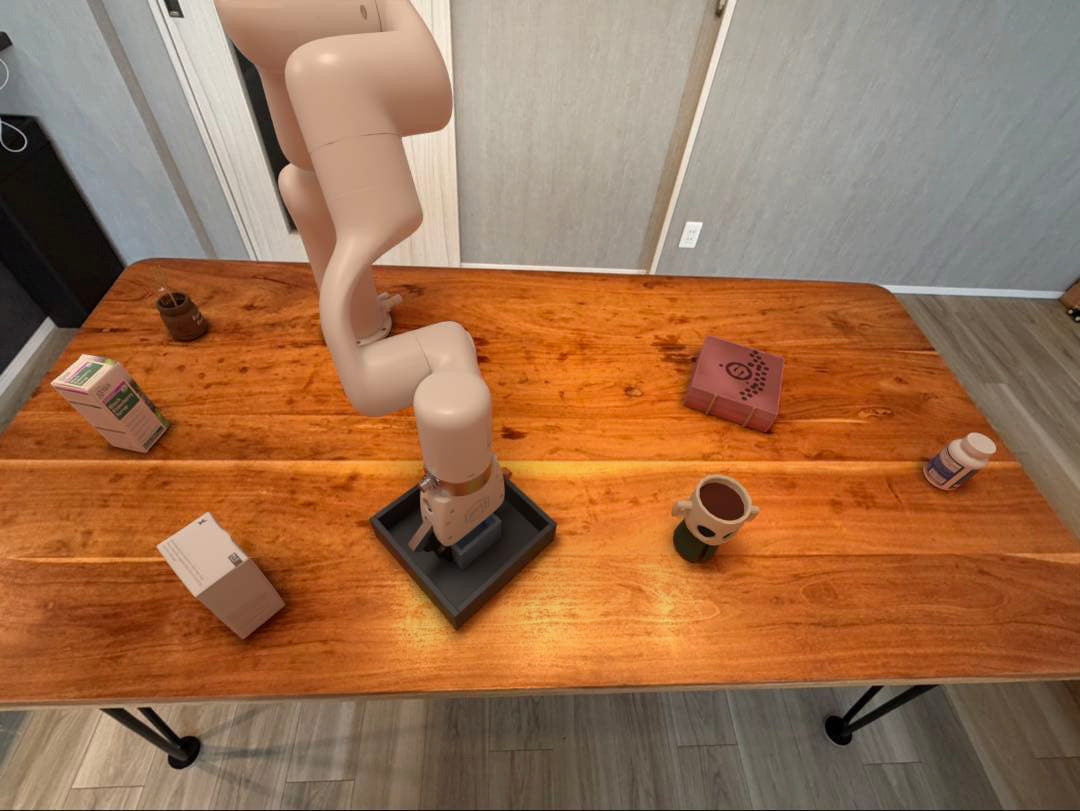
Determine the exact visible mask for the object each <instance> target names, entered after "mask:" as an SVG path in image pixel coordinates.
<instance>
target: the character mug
mask: <svg viewBox="0 0 1080 811" xmlns="http://www.w3.org/2000/svg"><path fill="white" fill-rule="evenodd" d="M760 510H761V508H760V507H759V506H758V505H753V504H752V497H751V496H750V494H749V492H748V490H747V489H746V488H745V487H744V486H743V485H742V484H741V483H740V482H739V481H738V480H736V479H735V478H732V477H731V476H727V475H724V474H720V473H719V474H717V473H716V474H708V475H707V476H705V477H703V478H702V479H700V480H699V482H698V483H697V485H696V487H695V488H694V490H693V492H692V493H691V495H690V496H689V499H688V500H677V501H676V502H675V504H674V505H673V507H672V509H671V515H672V517H674V518H683V519H682V520H681V521H680V523H679V524H678V525H677V526H676V527H675V528H674V530H673V535H672V536H673V537H672V541H673V544H674V547H675V550H676V551H677V552H678V553H679V554H680V556H681V558H684V559H686V560H688V561H690V562H691V563H696V561H697V559H698V558H699V559H701V558H702V559H701V562H700V563H701V564H702V563H703V564H704V563H706V562H708V561H710V560H712V559H713V557H714V556H715V554H716V553H717V551H718V549H719V548H720V546H721V545H723V544H725V543H727V542H729V541H731V540H732V539H733V538H734V537H735V536H736V535H737V534H738V532H739V531H740V530H741V528H742V527H744V525H745V523H746V522H747V523H748V522H749V523H750V522H752V521H754V520H755V518H756V517H757V516H758V515H759V514H760Z"/></svg>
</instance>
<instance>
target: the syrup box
mask: <svg viewBox="0 0 1080 811" xmlns="http://www.w3.org/2000/svg"><path fill="white" fill-rule="evenodd" d="M50 385H51V387H52V388H53V389H54V390H55V391H56V392H57V393H59V395H61V397H63V399H64V400H65V401H67V402H68V403H69V405H70V406H72V407H73V409H75V410H76V411H77V412H78V413H79V415H81V416H82V418H84V419H85V420H86V421H87V422H88V423H89V424H90V425H91V426H92V427H93V428H94V429H95V430H96V431H97V432H98V433H99V434H100V435H101V436H102V437H103V438H104V439H105V440H106V441H107V442H108V443H109V444H110V445H111V446H112V447H115V448H120V449H123V450H128V451H133V452H138V453H142V454H148V453H149V451H150V449H151V448H152V447H153V446H154V445H155V444H156V443H157V441H158V440H159V439H160V438H161V437H162V436H163V434H165V432H166V431H167V430H168V429H169V428H170V427H171V424H170V422H169V421H168V420H167V419H166V417H165V416H164V415H163V414H162V413H161V411H160V410H159V409H158V408H157V406H156V405H155V404H154V403H153V402H152V400H151V399H150V397H148V395H147V394H146V393H145V391H144V390H143V389H142V387H141V386H140V385H139V384H138V383H137V382H136V381H135V379H134V378H133V376H132V375H131V374H130V373H129V372H128V370H127V369H126V368H125V367H124V365H122V363H121V362H120V361H118V360H114V359H110V358H108V357H102V356H97V355H90V354H86V353H85V354H84V353H82V354H81V355H80V356H79V358H78V359H77V360H76V361H74V362H73V363H71V365H70V366H68V367H67V368H66V369H64V371H63V372H61V373H60V374H59V375H58V376H57V377H56V378H54V379H53V380H52V381H51V382H50Z"/></svg>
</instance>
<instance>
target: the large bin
mask: <svg viewBox="0 0 1080 811" xmlns="http://www.w3.org/2000/svg"><path fill="white" fill-rule="evenodd" d="M505 486H506V488H505V493H504V500H503V503H502V504H501V505H500V506H499V507H498V508H497V509H496V516H497V517H498V518H499V519H500V520H501V521H502V526H501V538H500V539H499V540H498V541H497V542H495V543H494V544H493V545H492V546H491V547H490V548H489V549H487V550H486V551H485V552H484V553H483V554H482V555H480V556H479V557H478V558H477V559H476V560H475V561H474V562H472V563H471V564H470V565H469V566H468V567H467V568H466V569H464V570H463V571H462V570H461V569H460V568H459V567H458V566H457V565H456V564H455V562H454V561H453V560H451V561H450V562H448V561H447V560H446V559H445V558H444V557H442V558H438V556H437V555H436V554H435V553H434V551H430V552H425V551H422V552H416V553H414V552H413V551H412V550H411V549H410V548H409V546H408V543H409V542H410V540H411V539H412V537H413V536H414V535H415V533H416V532H417V530H418V529H419V528H420V526H421V525H422V523H423V519H422V514H421V505H420V494H421V490H420V489H419V487H418V485H417V484H415V485H414V486H412V487H411V488H409V489H408V490H407V491H405V492H404V493H403V494H401V495H400V496H398V497H397V498H396V499H394V500H393V501H392V502H390V503H389V504H387V505H386V506H385V507H383V508H382V509H380V510H379V511H378V512H376V513H375V514H374V515H372V516H370V517H369V518H368V520H369V522H370V524H371V527H372V530H373V532H374V535H375V537H376V538H377V540H378V541H379V542H380V543H381V544H382V545H383V547H384V548H385V549H386V550H387V552H389V554H390V555H391V556H392V557H393V558H394V559H395V560H396V562H397V563H398V564H399V565H400V567H402V569H403V570H404V571H405V572H406V573H407V574H408V576H409V577H410V578H411V579H412V580H413V582H414V583H415V584H416V585H417V587H419V588H420V590H421V591H422V592H423V593H424V594H425V596H427V598H428V599H429V600H430V602H432V604H433V605H434V606H435V607H436V608H437V609H438V610H439V613H441V614H442V615H443V617H444V618H445V619H446V620H447V621H448V622H449V623H450V625H451V626H452V628H454V629H455V630H456V631H459V630H460V629H461V628H462V627H463V626H464V625H465V624H466V623H468V621H469V620H470V619H472V618H473V617H474V616H475V615H476V614H477V613H478V612H479V611H481V609H483V608H484V606H486V604H487V603H488V602H490V601H492V599H493V598H494V597H495V596H496V595H497V594H499V592H500V591H501V590H503V589H504V588H505V587H506V586H507V585H508V584H509V583H511V581H513V579H514V578H516V577H517V576H518V575H519V574H520V573H521V572H522V571H523V570H524V569H525V568H526V567H527V566H528V565H529V564H530V563H531V562H533V561H534V560H535V559H536V558H537V557H538V556H539V555H540V554H541V553H542V552H544V550H545V549H547V548H548V546H550V545H551V544H552V543H553V542H554V541H555V537H556V531H557V527H558V523H557V522H556V521H555V520H554V519H553V518H552V517H551V516H550V515H548V513H546V512H545V511H544V510H543V509H542V508H541V507H540V506H539V505H537V504H536V503H535V501H533V500H532V499H531V497H529V496H528V495H527V494H526V493H525V492H524V491H523V490H521V489H520V487H518V486H517V485H516V484H515V483H514V482H513V481H512V480H511V479H509V481H508V482H507V484H505Z"/></svg>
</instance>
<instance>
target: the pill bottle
mask: <svg viewBox="0 0 1080 811" xmlns="http://www.w3.org/2000/svg"><path fill="white" fill-rule="evenodd" d="M996 452H997V446H996V444H995V442H994V441H993V440H992V439H990V438H989V437H988V436H987V435H984V434H982V433H979V432H970V433H968V434H967V435H966V436H965V437H963V438H957V439H954V440H952V441H951V442H949V443H948V444H947V445H946V446H945V447H943V449H942V450H940V451H939V452H938V453H937V454H936V455H935V456H934V457H932V458H931V459H930V460H929V461H928V462H927V463H926V464H925V465H924V466H923V469H922V471H923V475H924V478H925V479H926V480H927V481H928V482H929V483H930V484H931V485H933V486H934V487H936V488H938V489H940V490H943V491H949V492H951V491H954V490H956V489H958V488H959V487H961V486H962V485H963V484H965V483H966V482H967V481H969V480H970V479H971V478H972V477H974V476H975V475H976V474H978V473H979V472H981V471H982V470H983V469H984V468H985V467H987V465H988V464H989V460H990V459H989V458H990V457H991V456H992V455H994V454H995V453H996Z"/></svg>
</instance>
